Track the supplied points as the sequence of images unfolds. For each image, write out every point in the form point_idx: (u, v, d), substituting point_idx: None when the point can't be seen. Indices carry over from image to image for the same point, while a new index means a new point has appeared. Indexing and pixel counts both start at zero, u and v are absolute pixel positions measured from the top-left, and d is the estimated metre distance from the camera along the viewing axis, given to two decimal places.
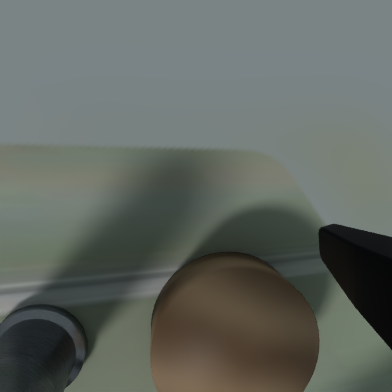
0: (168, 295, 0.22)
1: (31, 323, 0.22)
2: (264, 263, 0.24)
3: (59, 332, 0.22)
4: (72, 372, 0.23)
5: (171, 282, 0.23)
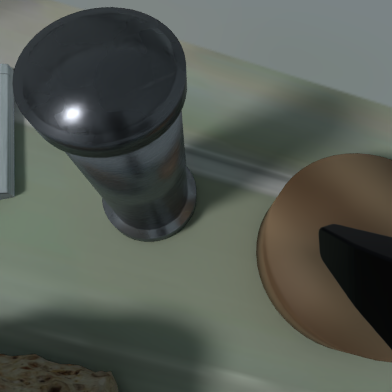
0: None
1: None
2: None
3: None
4: (171, 224, 0.21)
5: None
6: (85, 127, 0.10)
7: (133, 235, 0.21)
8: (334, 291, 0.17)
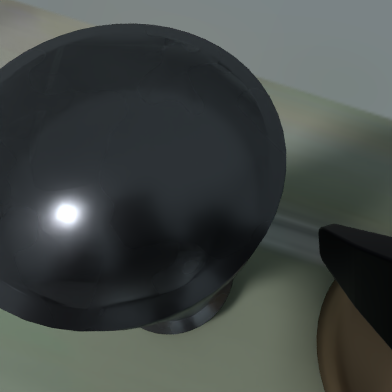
0: None
1: None
2: None
3: None
4: (202, 313, 0.16)
5: None
6: (81, 287, 0.05)
7: (149, 329, 0.15)
8: None
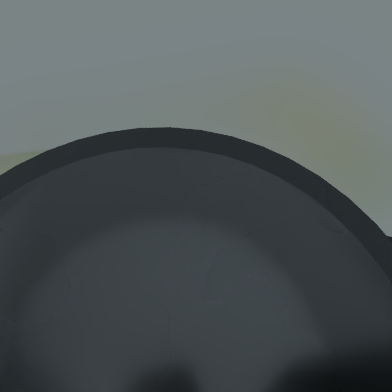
0: None
1: None
2: None
3: None
4: None
5: None
6: None
7: None
8: None
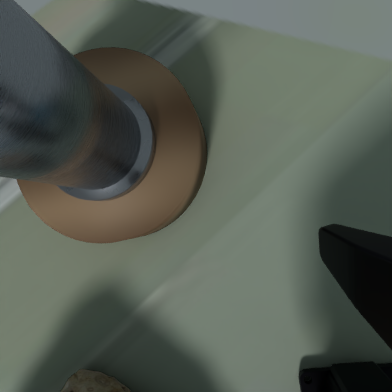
0: None
1: None
2: None
3: None
4: (136, 165, 0.17)
5: None
6: None
7: (101, 198, 0.17)
8: (109, 202, 0.18)
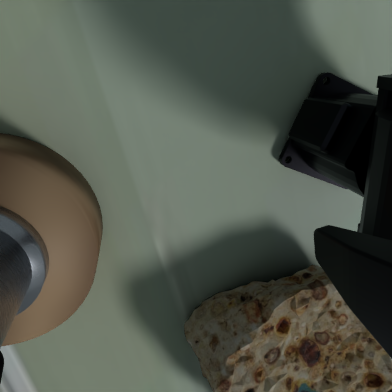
0: None
1: None
2: None
3: None
4: (19, 240, 0.15)
5: None
6: None
7: (41, 283, 0.16)
8: (50, 272, 0.17)
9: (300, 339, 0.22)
